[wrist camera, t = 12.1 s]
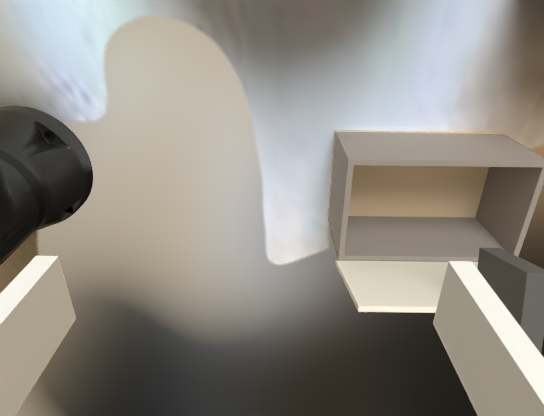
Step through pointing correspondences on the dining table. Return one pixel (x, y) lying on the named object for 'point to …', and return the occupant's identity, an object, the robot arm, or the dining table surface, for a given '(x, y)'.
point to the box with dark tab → (429, 279)
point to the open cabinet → (430, 194)
